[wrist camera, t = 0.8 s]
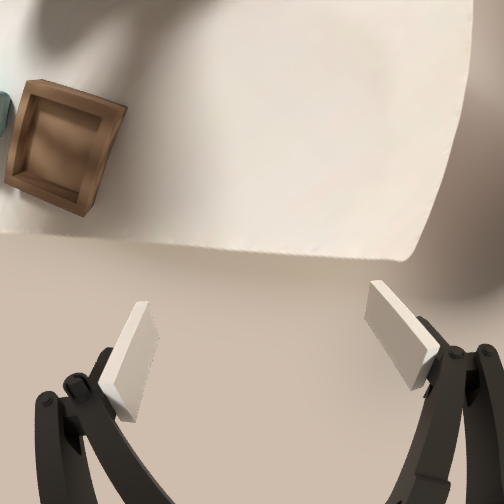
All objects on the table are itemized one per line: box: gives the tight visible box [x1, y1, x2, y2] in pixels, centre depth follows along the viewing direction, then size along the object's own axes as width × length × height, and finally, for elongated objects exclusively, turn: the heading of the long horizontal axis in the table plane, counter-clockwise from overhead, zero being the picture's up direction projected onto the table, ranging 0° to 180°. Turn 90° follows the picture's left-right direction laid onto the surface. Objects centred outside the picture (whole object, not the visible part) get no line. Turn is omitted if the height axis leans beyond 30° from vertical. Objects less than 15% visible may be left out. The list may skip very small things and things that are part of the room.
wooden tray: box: [4, 79, 128, 217], centre depth 29 cm, size 15×15×4 cm
